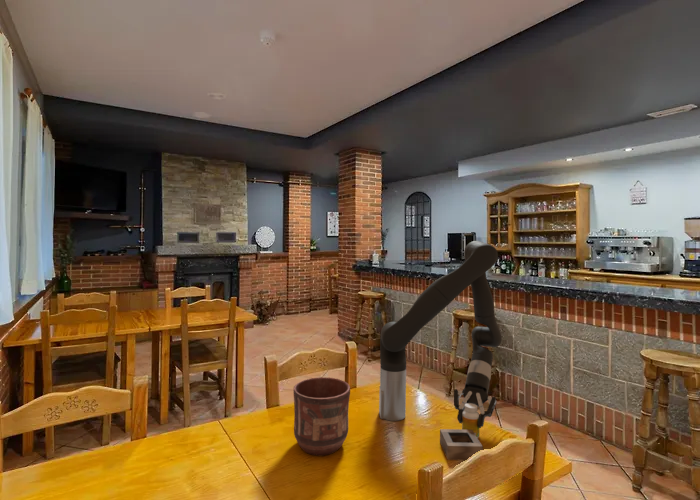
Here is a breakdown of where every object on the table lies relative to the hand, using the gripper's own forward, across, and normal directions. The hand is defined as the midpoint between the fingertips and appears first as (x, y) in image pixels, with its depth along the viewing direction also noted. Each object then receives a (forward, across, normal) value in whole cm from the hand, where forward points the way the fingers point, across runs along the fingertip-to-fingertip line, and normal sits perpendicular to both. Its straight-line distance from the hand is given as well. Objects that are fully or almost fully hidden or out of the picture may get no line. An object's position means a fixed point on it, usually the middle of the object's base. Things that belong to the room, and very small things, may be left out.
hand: (469, 424), depth 125 cm
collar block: (+10, 0, -4) cm, 10 cm away
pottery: (+23, -38, -17) cm, 48 cm away
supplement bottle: (+2, 0, +4) cm, 5 cm away
